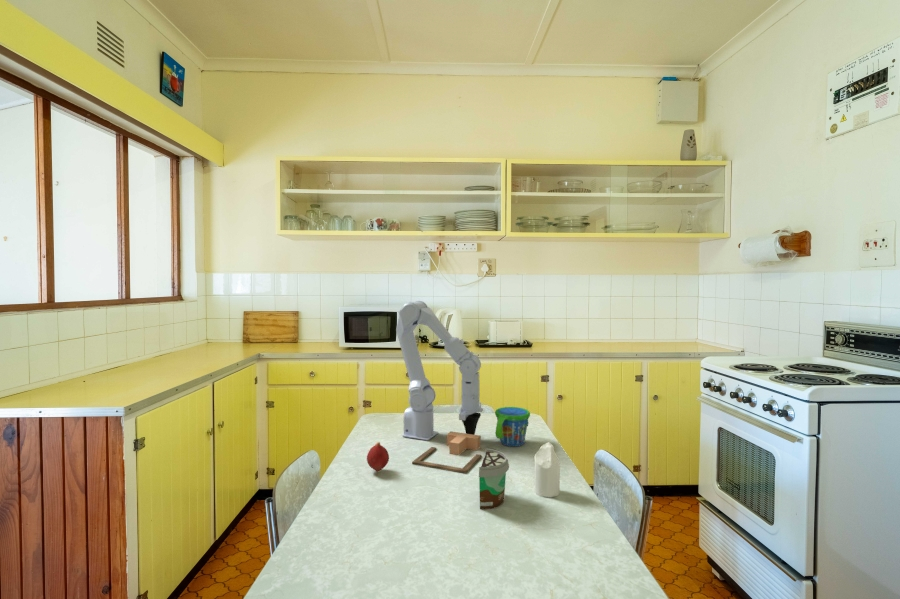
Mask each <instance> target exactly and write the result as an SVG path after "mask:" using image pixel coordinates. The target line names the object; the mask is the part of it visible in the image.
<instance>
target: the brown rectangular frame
mask: <svg viewBox="0 0 900 599" xmlns="http://www.w3.org/2000/svg"><path fill="white" fill-rule="evenodd" d="M435 451H437V447H435V446H434V447H433V446H431V447H430V448H428V449H427V450H426V451H424V452H423V453H422V454H421V455H419V456H418V457H417V458H415V459H414V460H413V461H412V463H411V464H412V465H417V466H421V467H427V468H433V469H439V470H445V471H450V472H454V473H461V474H465V475H466V474H467V472H469V471H470V469H471V468H473V466H474V465H475V464H476V463H477V462H478V461H479V460H480V459H481V458H482V457H483V456H482V454H481V453H480V454H479V453H476V454H475V455H474V456H473V457H472V458H471V459H470V460H469V461H468V462H467V463H466V464H465V465H464V466H463V467H458V466H453V465H446V464H445V465H444V464H439V463H434V462H428V461H424V460H425V459H426V458H428V456H430V455H431V454H432V453H434V452H435Z"/></svg>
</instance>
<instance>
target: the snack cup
mask: <svg viewBox="0 0 900 599" xmlns="http://www.w3.org/2000/svg"><path fill="white" fill-rule="evenodd" d="M494 414H495V417H496V420H497V422H496V426H495V431H494V433H495V436H496V437H497V438H498V439H499V440H500V443H502V444H503V445H505V446H506V447H507V446H508V447H519V446H523V444H524V443H525V441H526V436H527V430H528V429H527V428H528V426H529V424H530V423H529V418H530V417H531V413H530V410H528V409H526V408H523V407H518V406H504V407H499V408H496V410H495V412H494Z"/></svg>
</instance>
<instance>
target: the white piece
mask: <svg viewBox="0 0 900 599" xmlns="http://www.w3.org/2000/svg"><path fill="white" fill-rule="evenodd" d="M560 464H561V462H560V458H559V457H558V455H557V453H556V451H555V447H554V445H553V444H552V443H551V442H548V441H547V442H545V443H544V444H542V445H541V446H540V448H539V449H538V450H537V451H536V453H535V455H534V493H535V494H536V495H537V496H539V497H544V498H554V497H557V496H559V495H560V490H561V488H560V483H561V481H560V480H561V479H560V478H561V475H560V474H561V473H560V471H561V466H560Z"/></svg>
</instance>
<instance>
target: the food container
mask: <svg viewBox="0 0 900 599" xmlns="http://www.w3.org/2000/svg"><path fill="white" fill-rule="evenodd" d="M509 469H510V464H509V461H508V458H507V456H506V455H505V453H503V452H501V451H499V450H496V449H492V448H485V455H484V457H483V460H482V463H481V466H478V478H479V482H478V485H479V510H492V509H495V508H498V507H500V506H502V505H503V504H504V502H505V489H506V478H507V472H508V471H509Z"/></svg>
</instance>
